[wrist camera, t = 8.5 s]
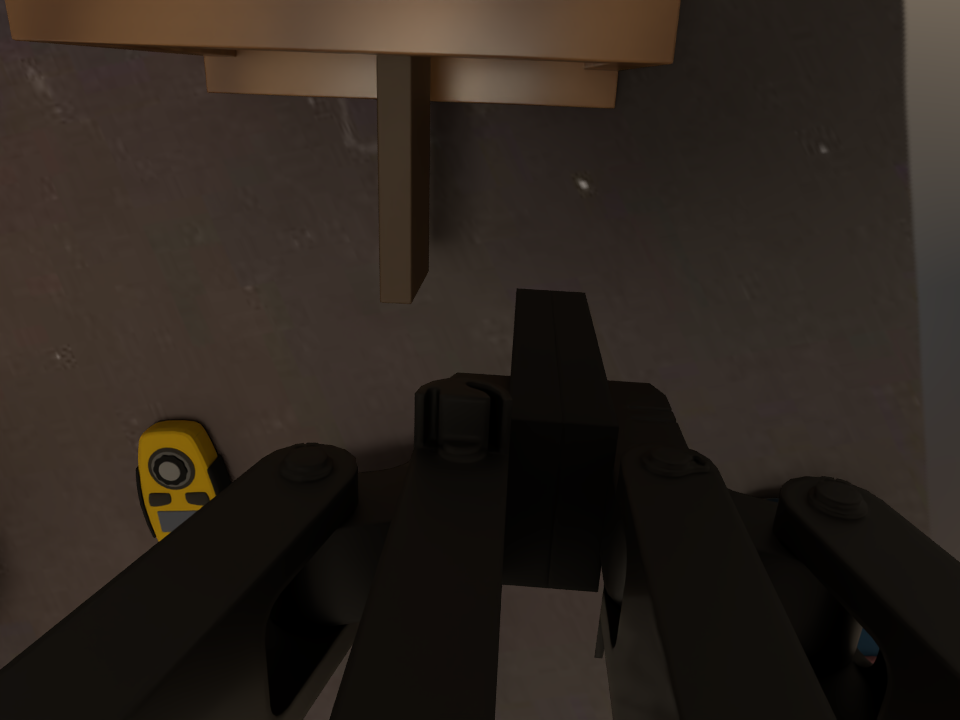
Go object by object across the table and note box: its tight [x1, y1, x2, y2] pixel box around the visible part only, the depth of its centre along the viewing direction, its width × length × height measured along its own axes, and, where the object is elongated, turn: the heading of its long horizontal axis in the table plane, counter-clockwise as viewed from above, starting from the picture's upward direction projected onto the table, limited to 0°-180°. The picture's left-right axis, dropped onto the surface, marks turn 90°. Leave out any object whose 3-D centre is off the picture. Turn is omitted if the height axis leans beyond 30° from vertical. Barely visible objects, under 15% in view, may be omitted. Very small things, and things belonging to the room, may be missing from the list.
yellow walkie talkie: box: [136, 420, 231, 541], centre depth 41 cm, size 5×2×15 cm
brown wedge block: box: [376, 55, 431, 304], centre depth 27 cm, size 7×10×10 cm
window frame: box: [5, 0, 681, 108], centre depth 25 cm, size 18×6×14 cm, turn 88°
